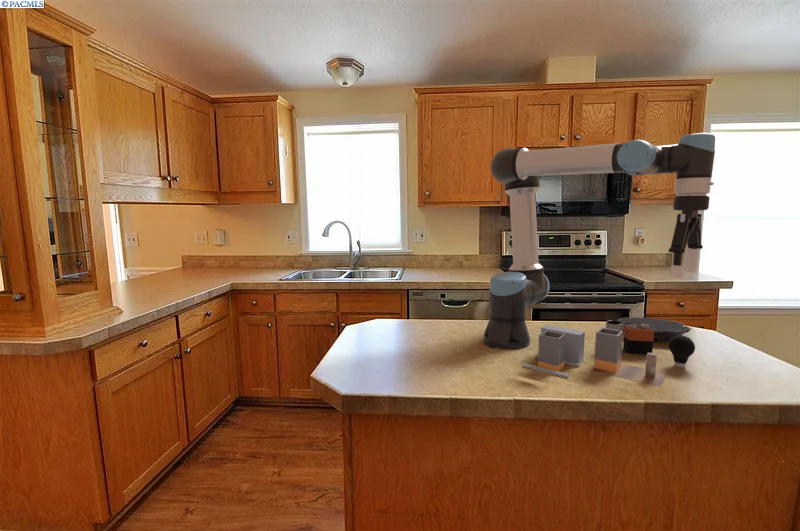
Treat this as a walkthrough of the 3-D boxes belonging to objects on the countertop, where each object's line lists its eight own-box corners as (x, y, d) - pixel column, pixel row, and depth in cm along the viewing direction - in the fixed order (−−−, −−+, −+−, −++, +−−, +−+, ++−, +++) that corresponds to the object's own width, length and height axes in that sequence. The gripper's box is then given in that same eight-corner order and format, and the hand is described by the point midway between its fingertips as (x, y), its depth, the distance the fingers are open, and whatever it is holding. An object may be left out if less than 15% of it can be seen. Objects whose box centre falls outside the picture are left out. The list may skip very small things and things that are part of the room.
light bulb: (661, 367, 110) (664, 333, 109) (680, 366, 110) (683, 332, 109) (677, 376, 104) (680, 339, 103) (698, 375, 105) (701, 339, 103)
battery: (652, 360, 115) (654, 327, 114) (627, 358, 117) (629, 326, 115) (646, 354, 120) (648, 323, 118) (622, 353, 121) (624, 322, 120)
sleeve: (537, 370, 108) (539, 335, 107) (545, 364, 112) (546, 330, 111) (557, 375, 105) (559, 339, 103) (564, 368, 109) (566, 334, 107)
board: (612, 338, 135) (613, 323, 134) (619, 325, 153) (620, 312, 152) (691, 350, 122) (693, 334, 122) (689, 335, 140) (690, 321, 140)
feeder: (522, 371, 109) (523, 336, 107) (543, 356, 120) (544, 324, 118) (567, 383, 101) (569, 346, 99) (584, 365, 112) (586, 331, 111)
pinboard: (590, 375, 106) (591, 348, 104) (600, 363, 113) (601, 338, 112) (660, 392, 95) (663, 363, 94) (666, 378, 103) (668, 351, 102)
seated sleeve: (594, 367, 107) (596, 332, 105) (599, 361, 111) (601, 327, 109) (616, 372, 103) (618, 336, 102) (620, 366, 107) (623, 331, 106)
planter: (619, 353, 121) (621, 320, 120) (622, 358, 117) (624, 324, 116) (603, 351, 123) (604, 319, 121) (605, 356, 118) (607, 323, 117)
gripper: (697, 194, 92) (688, 282, 95) (719, 195, 109) (711, 270, 112) (660, 194, 98) (653, 278, 101) (687, 196, 114) (679, 268, 117)
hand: (683, 274), depth 106 cm, fingers open, 13 cm apart
